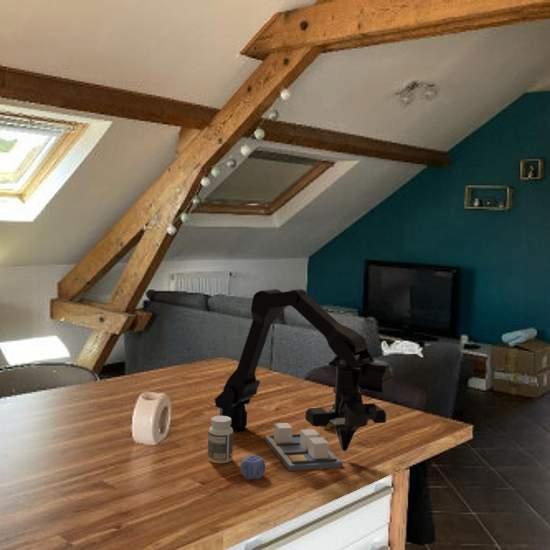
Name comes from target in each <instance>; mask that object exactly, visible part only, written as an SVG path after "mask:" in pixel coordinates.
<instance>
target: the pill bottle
mask: <svg viewBox="0 0 550 550" xmlns="http://www.w3.org/2000/svg"><path fill="white" fill-rule="evenodd" d="M210 423H211V426H210V427H209V429H208V432H207V433H208V439H207V440H208V442H207V459H208V461H209V462H211V463H214V464H226V463H230V462H231V461H232V460H233V449H234V448H233V446H234V431H233V429H232V428H231V427H230V425H231V418H230V417H227V416H220V415H216V416H212V417H211V421H210Z"/></svg>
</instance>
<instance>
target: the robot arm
mask: <svg viewBox="0 0 550 550" xmlns="http://www.w3.org/2000/svg"><path fill="white" fill-rule="evenodd" d="M289 306H290V307H292V308H293V309H294V310H296V311H297V312H298V313H299V314H300V315H301V316H302V318H304V319H305V320H307V322H308V323H310V324H311V325H312V326H313V327H314V328H315V329H316V330H317V331H318V332H319V333H320V334H321V335H323V337H324V338H325V339H326V342H327V345H328V346H329V348H330V350H331V351H332V352H333V353H334V355H335V356H334V357H333V359H331V361H329V362H328V366H329V367H330V366H331V367H335V368H336V375H335V376H336V377H335V387H333V390H332V391H333V393H334V394H335V395H334V404H332V408H333V409H334V412H326V411H327V410H326V409H324V408H323V407H309V408H307V410H306V411H305V420H306V421H307V422H308V424H310V425H311V426H312V427H322V426H323V427H324V426H327V425H328V423H330V424H331V425H332V427H333V429H334V431H335V433H336V435H337V438H338V442H339V445H340V448H341V451H343V452H347V451H348V448H349V446H350V444H351V442H352V440H353V437H354V435H355V433H356V432H357V430H359V429H360V428H364V427H366V426H368V423H369V421H372V422H373V423H375V424H381V423H382V424H384V423H387V415H388V414H387V412H386V411H385V410H384V409H383V408H381V407H379V405H376V403H374V402H373V403H372V402H371V403H364V402H363V393H362V392H360V391H361V390H362V391H365V392H369V393H370V392H371V393H375V394H380V395H386V396H387V395H388V394H389V393H390V392H391V389H392V387H393V382H394V377H393V375H392V371H391V370H390V364H387V363H383V364H381V363H377V362H375V360H374V358H373V356H372V354H371V353H370V350H369V349H368V347H367V344H366V339H365V338H364V336H363V335H362V334H360V333H359V332H357V331H356V330H354V329H352V328H350V327H348V326H345V325H343V324H341V323H340V322H338V321H337V320H336V319H335V318H334V317H333V316H331V314H329V313H328V312H327V311H326V310H325V309H324V308H323V307H321V306H320V305H319V304H318V302H316V301H315V300H314V299H313V298H312V297H311V296H309V294H308V293H307V291H306V290H304V289H302V288H298V289H297V288H296V289H291V290H289V291H283V292H282V291H281V290H280V289H278V288H277V289H276V288H274V289H271V288H270V289H265V290H259V291H257V292H255V294H254V295H253V297H252V301H251V306H250V312H251V318H252V322H251V324H250V328H249V330H248V334H247V337H246V340H245V342H244V346H243V349H242V352H241V355H240V358H239V362H238V364H237V367H236V369H235V371H233V372H232V374H231V375H230V376H229V377H228V378H227V381H226V382H225V384H224V387H223V389H222V391H221V393H219V394H218V396H217V397H215V398H214V404H215V407H216V408H219V416H227V417H230V418H231V425H230V427H231V428H232V429H233V432H241V431H243V432H245V431H247V428H246V427H247V425H248V424H247V423H248V411H247V410H246V405H249V404H250V402H251V399H252V398H253V397H254V395H257V394H258V389H259V385H260V384H261V382H260V380H258V379H257V377H256V371H257V367H258V364H259V361H260V359H261V355H262V353H263V350H264V346H265V344H266V340H267V337H268V334H269V332H270V329H271V326H272V324H273V323H274V322H275V321H276V320H277V319H278V318H279V316H280V315H281V312H282V311H283V309H284V308H285V307H289ZM357 357H358V358H357Z"/></svg>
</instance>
